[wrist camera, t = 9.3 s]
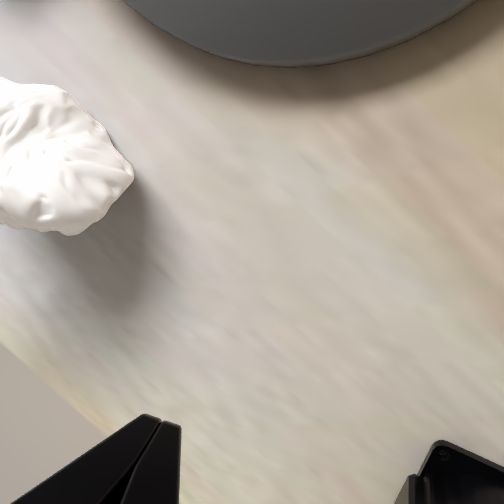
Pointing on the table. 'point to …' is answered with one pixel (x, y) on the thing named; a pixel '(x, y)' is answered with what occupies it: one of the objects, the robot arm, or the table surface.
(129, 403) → the table surface
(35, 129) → the bust
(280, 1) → the dial plate
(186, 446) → the table surface
